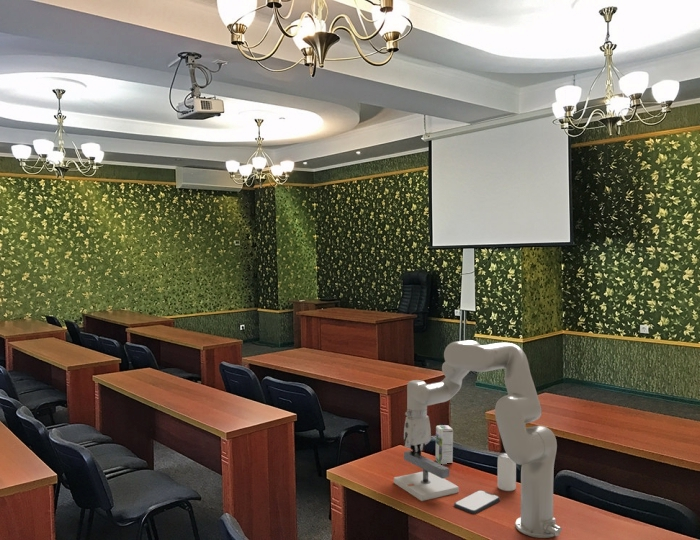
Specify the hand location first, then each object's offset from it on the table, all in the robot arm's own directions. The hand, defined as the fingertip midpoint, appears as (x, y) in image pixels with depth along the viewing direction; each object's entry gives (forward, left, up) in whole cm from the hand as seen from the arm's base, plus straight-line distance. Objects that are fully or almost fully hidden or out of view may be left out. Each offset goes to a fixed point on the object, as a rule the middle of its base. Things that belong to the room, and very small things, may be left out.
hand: (416, 460), depth 217 cm
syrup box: (+8, -19, -6) cm, 21 cm away
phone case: (-29, -5, -7) cm, 30 cm away
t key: (-10, +3, -4) cm, 11 cm away
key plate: (-10, +3, -6) cm, 12 cm away
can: (-24, -23, -6) cm, 34 cm away
